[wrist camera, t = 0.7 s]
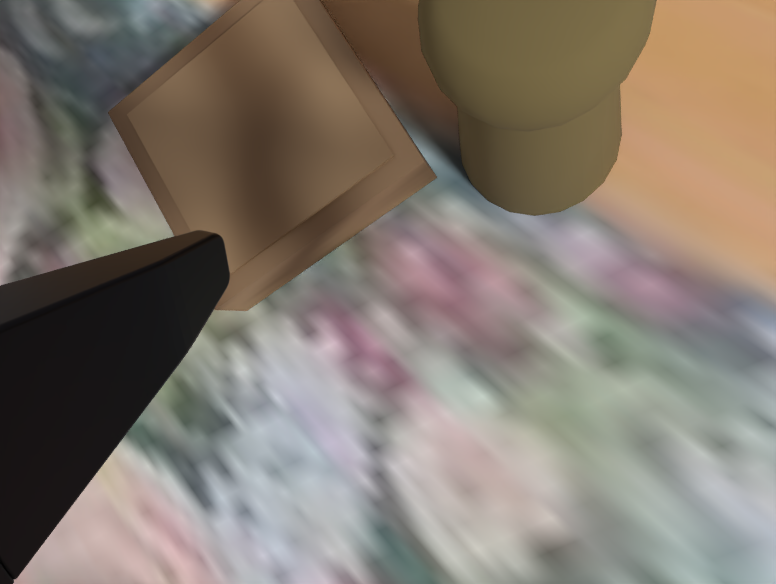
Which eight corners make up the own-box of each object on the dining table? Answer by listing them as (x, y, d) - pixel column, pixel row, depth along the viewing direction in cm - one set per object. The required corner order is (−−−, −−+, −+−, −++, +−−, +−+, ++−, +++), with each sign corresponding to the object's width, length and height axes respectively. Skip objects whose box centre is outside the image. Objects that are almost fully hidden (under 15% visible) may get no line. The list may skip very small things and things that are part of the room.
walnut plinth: (246, 310, 25) (212, 309, 22) (147, 131, 27) (105, 111, 24) (437, 177, 23) (423, 159, 20) (315, -7, 25) (288, -45, 22)
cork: (441, 93, 23) (353, -99, 12) (594, 36, 22) (640, -238, 11) (482, 235, 22) (424, 159, 12) (643, 186, 21) (743, 47, 10)
